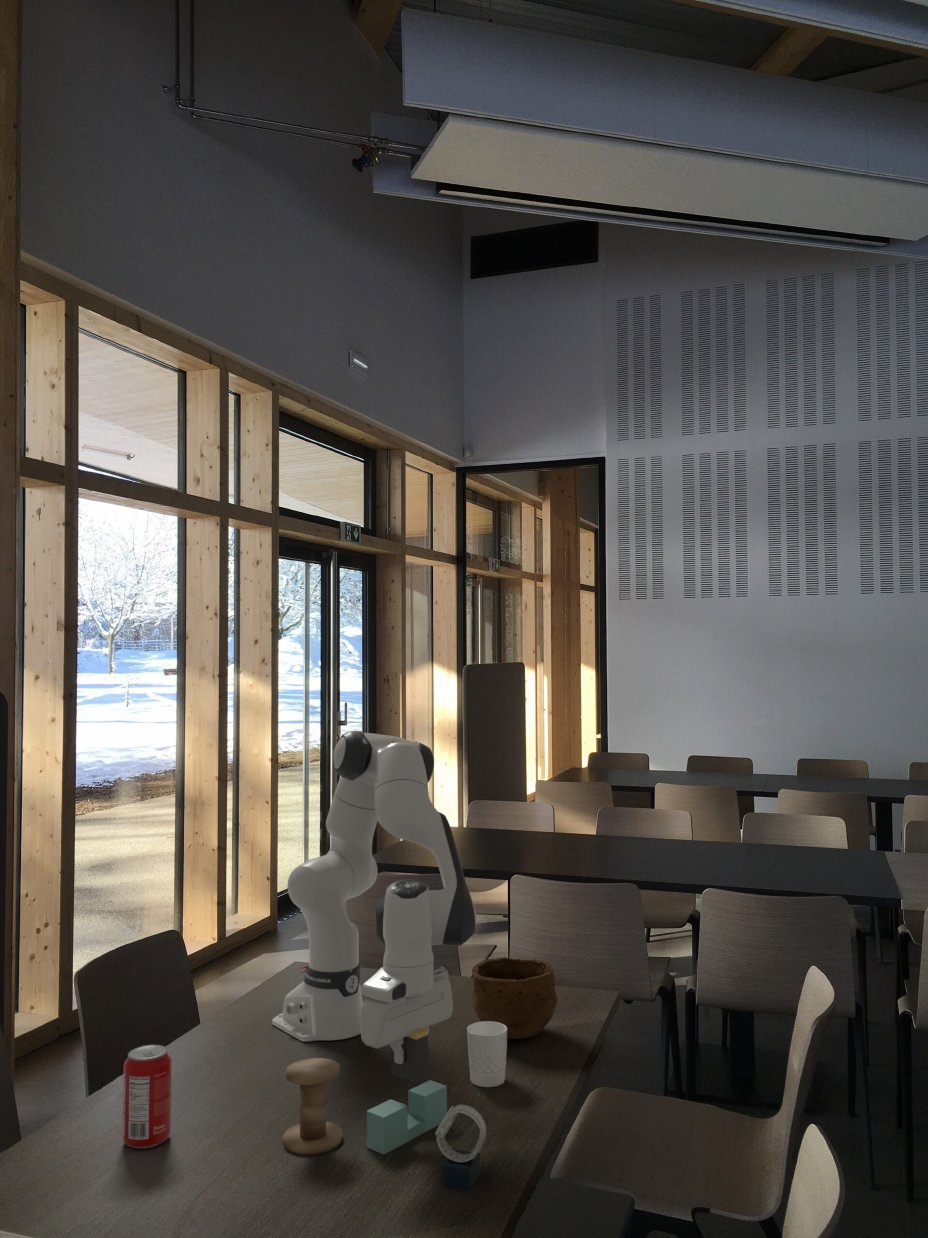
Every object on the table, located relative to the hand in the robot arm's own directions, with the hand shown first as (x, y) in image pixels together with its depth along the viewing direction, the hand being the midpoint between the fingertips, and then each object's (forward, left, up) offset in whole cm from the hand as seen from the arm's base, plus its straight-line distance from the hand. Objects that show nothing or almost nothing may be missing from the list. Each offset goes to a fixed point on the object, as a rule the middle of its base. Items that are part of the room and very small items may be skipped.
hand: (409, 1058), depth 169 cm
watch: (+17, -6, -13) cm, 22 cm away
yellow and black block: (0, 0, -3) cm, 3 cm away
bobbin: (-11, -12, -13) cm, 21 cm away
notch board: (0, 0, -13) cm, 13 cm away
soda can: (-33, -30, -13) cm, 47 cm away
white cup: (-3, +26, -13) cm, 29 cm away
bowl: (-13, +48, -13) cm, 51 cm away
